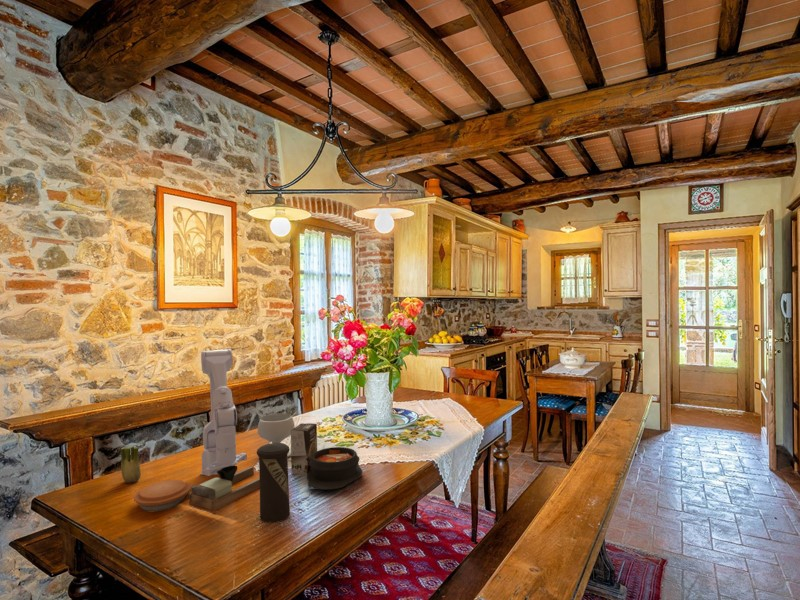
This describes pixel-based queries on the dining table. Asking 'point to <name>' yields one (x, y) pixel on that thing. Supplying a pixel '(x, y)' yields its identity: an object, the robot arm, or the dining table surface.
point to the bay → (208, 500)
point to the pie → (162, 495)
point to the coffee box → (303, 447)
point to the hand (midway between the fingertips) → (227, 490)
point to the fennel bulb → (130, 464)
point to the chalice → (276, 427)
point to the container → (274, 482)
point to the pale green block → (218, 486)
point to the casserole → (333, 468)
